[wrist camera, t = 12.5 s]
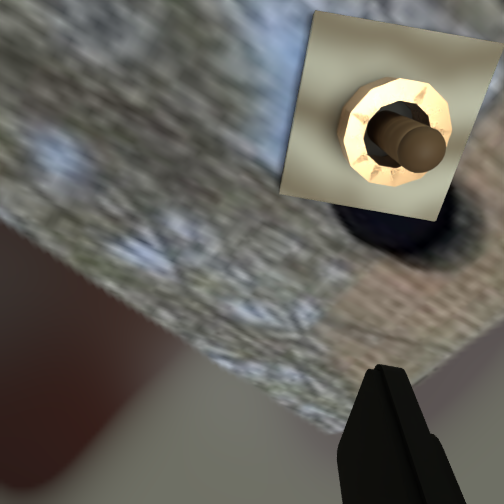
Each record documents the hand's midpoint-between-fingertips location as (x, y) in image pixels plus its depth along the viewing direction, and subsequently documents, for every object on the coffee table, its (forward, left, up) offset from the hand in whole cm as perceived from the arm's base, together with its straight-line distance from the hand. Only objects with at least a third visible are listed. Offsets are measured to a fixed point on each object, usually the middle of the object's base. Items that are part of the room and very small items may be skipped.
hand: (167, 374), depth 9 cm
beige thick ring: (-4, +10, -25) cm, 27 cm away
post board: (-4, +10, -28) cm, 30 cm away
